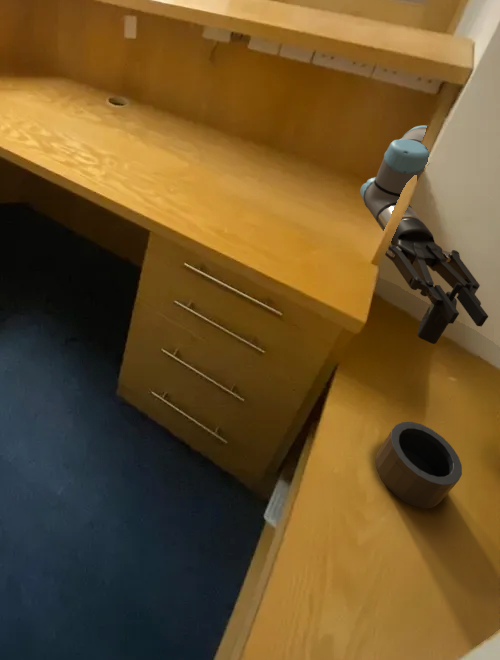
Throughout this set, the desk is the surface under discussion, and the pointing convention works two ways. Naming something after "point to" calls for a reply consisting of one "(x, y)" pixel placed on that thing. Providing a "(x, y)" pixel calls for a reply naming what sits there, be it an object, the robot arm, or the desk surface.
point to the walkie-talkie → (436, 319)
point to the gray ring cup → (418, 465)
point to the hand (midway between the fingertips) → (468, 319)
